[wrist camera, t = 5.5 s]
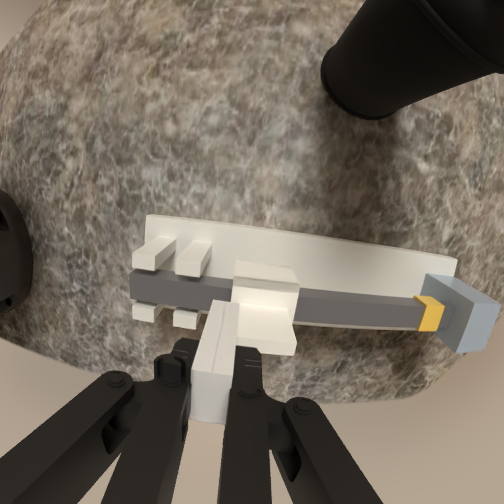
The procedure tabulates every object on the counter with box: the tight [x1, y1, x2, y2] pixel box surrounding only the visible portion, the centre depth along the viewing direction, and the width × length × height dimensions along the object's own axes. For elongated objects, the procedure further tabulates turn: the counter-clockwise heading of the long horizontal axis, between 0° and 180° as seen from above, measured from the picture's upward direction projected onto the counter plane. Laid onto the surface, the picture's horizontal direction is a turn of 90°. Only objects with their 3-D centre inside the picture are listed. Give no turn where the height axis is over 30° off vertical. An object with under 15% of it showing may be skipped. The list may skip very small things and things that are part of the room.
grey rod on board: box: [130, 214, 501, 353], centre depth 21 cm, size 30×8×9 cm, turn 82°
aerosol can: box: [321, 0, 504, 120], centre depth 12 cm, size 8×8×20 cm
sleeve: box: [231, 260, 300, 356], centre depth 18 cm, size 4×4×8 cm
